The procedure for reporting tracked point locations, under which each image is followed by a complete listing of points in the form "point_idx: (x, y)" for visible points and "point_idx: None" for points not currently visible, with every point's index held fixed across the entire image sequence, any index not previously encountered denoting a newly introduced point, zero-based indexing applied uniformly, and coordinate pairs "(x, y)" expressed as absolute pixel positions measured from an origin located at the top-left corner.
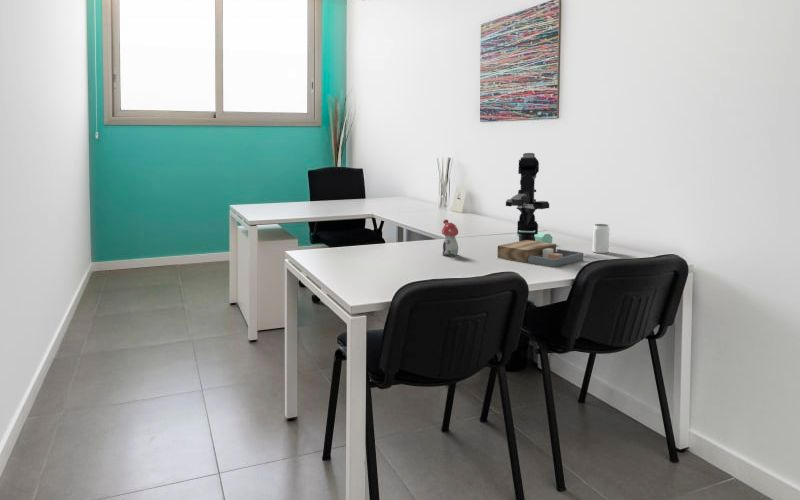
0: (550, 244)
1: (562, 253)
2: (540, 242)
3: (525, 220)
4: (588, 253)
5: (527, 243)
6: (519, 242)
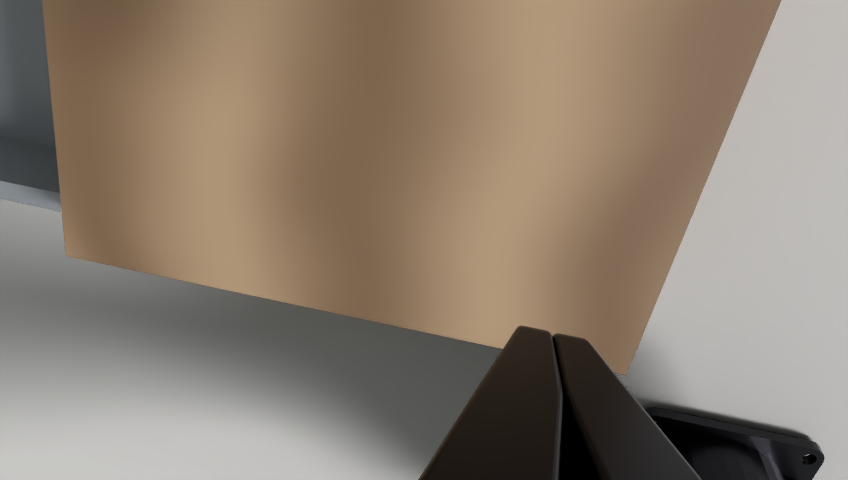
0: (101, 180)
1: (11, 156)
2: (329, 270)
3: (568, 406)
4: (2, 443)
5: (472, 67)
6: (659, 87)
